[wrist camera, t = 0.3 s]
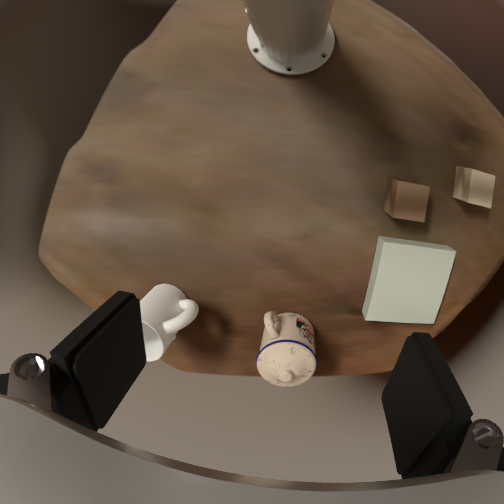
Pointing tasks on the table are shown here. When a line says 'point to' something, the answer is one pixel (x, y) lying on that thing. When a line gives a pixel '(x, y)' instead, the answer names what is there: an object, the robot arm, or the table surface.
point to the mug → (164, 318)
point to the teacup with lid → (287, 349)
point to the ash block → (474, 186)
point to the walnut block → (406, 199)
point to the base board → (407, 281)
